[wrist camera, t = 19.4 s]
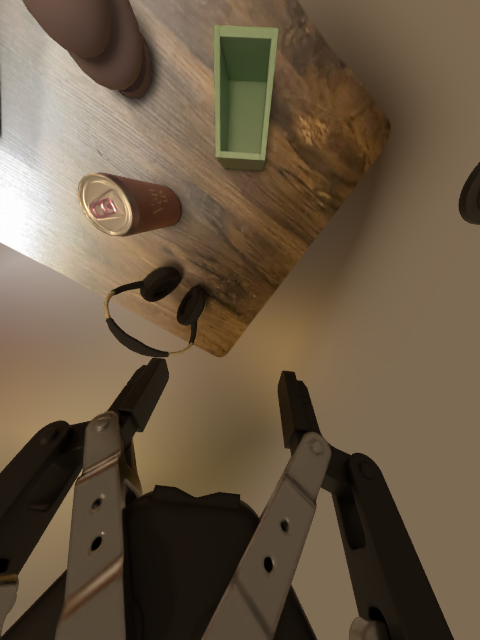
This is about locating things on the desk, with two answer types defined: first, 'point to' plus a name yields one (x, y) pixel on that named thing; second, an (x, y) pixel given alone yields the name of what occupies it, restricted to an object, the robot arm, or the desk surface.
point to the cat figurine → (99, 40)
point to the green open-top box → (243, 94)
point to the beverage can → (126, 204)
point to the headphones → (153, 290)
